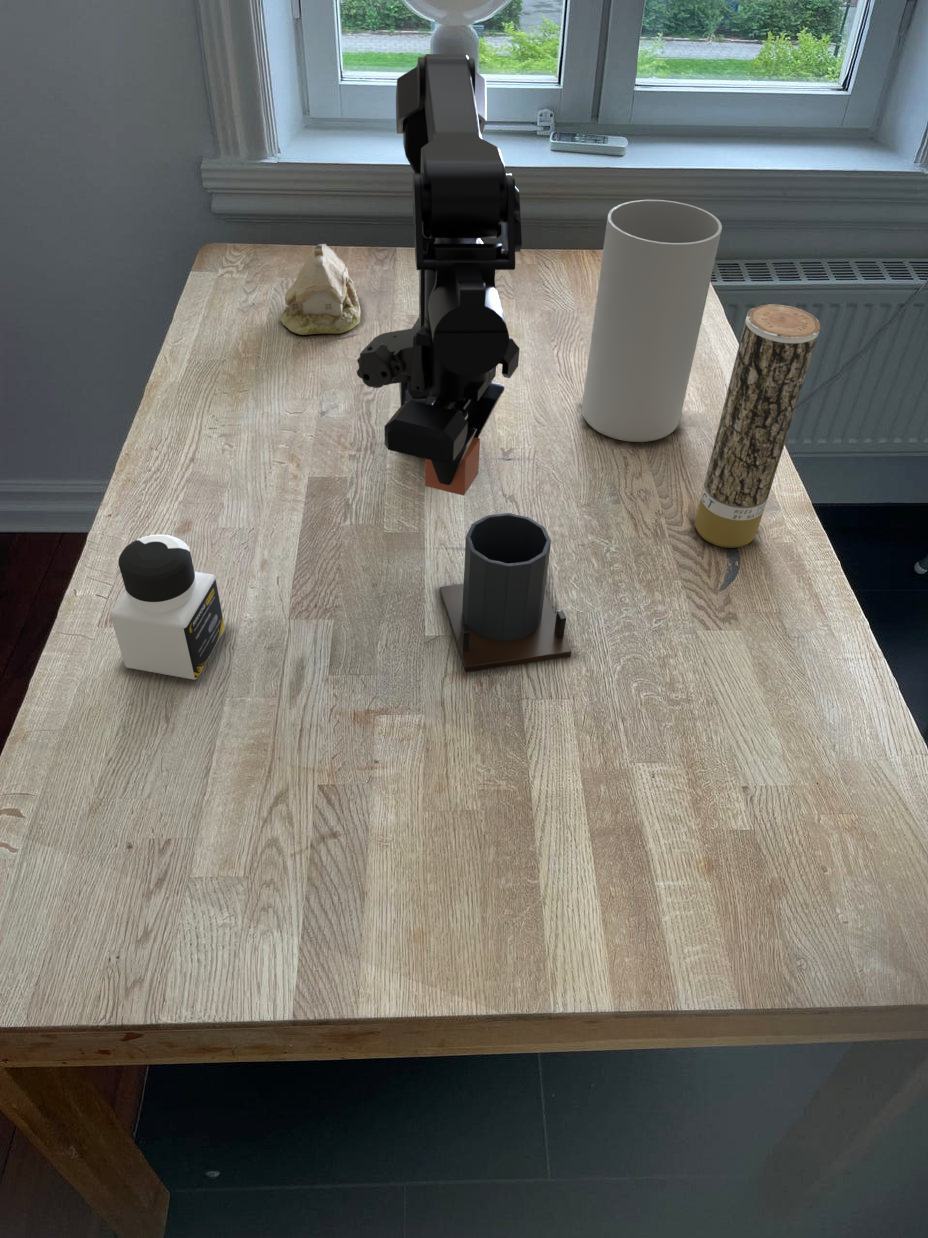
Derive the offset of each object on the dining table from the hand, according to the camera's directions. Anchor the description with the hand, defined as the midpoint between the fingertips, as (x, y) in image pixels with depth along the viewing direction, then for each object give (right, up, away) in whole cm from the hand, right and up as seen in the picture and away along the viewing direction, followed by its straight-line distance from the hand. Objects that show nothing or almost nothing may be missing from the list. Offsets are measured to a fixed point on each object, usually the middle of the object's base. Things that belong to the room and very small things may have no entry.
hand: (453, 471), depth 92 cm
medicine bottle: (-26, -17, 0) cm, 31 cm away
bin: (+5, -14, +3) cm, 15 cm away
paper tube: (+30, -4, +16) cm, 34 cm away
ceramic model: (-20, +30, +50) cm, 61 cm away
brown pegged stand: (+5, -14, +4) cm, 15 cm away
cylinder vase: (+22, +12, +32) cm, 41 cm away
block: (0, -1, +1) cm, 1 cm away
